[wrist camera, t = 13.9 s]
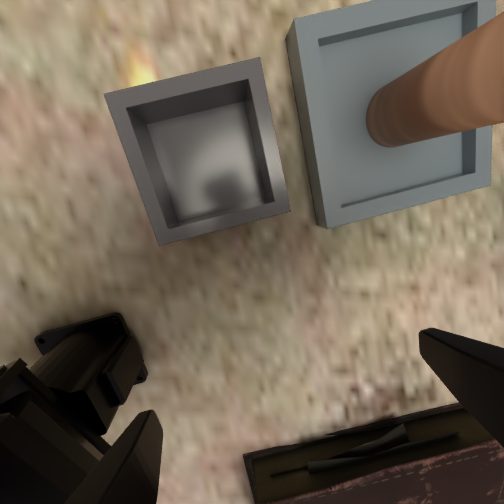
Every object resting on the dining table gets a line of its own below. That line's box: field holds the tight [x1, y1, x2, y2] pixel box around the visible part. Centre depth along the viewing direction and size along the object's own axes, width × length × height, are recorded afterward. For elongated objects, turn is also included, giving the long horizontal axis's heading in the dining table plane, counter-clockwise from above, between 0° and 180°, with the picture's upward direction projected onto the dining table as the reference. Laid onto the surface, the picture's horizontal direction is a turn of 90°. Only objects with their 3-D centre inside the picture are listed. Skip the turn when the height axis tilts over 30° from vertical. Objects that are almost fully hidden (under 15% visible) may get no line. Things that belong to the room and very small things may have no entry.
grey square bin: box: [104, 57, 291, 246], centre depth 15 cm, size 8×8×4 cm
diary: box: [243, 403, 504, 504], centre depth 26 cm, size 19×25×5 cm
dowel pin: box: [366, 12, 504, 148], centre depth 12 cm, size 4×4×10 cm
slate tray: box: [285, 0, 496, 229], centre depth 17 cm, size 12×12×2 cm
